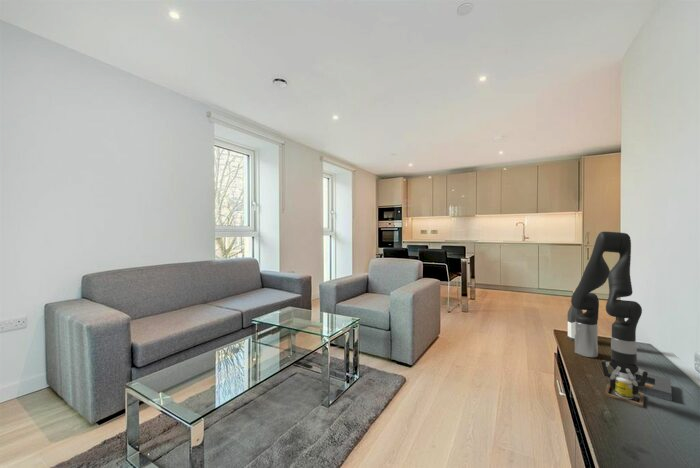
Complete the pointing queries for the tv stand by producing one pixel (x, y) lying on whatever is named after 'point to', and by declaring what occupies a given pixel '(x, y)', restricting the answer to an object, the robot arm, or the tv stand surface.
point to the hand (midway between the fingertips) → (623, 390)
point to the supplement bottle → (623, 386)
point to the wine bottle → (572, 321)
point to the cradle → (624, 398)
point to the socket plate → (655, 386)
